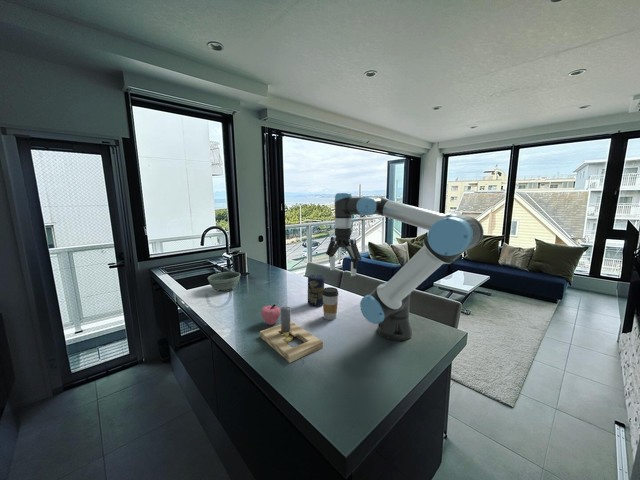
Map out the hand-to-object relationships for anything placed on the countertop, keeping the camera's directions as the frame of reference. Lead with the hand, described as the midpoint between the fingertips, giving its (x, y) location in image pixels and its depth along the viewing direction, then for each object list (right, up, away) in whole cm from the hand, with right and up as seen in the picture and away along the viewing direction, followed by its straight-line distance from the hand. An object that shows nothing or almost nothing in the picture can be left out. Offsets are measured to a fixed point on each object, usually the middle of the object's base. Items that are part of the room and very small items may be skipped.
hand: (342, 272), depth 122 cm
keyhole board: (-23, -28, -11) cm, 38 cm away
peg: (-25, -28, -8) cm, 39 cm away
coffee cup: (-5, -25, +13) cm, 29 cm away
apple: (-34, -26, +6) cm, 44 cm away
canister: (-13, -22, +30) cm, 39 cm away
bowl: (-75, -18, +54) cm, 94 cm away
